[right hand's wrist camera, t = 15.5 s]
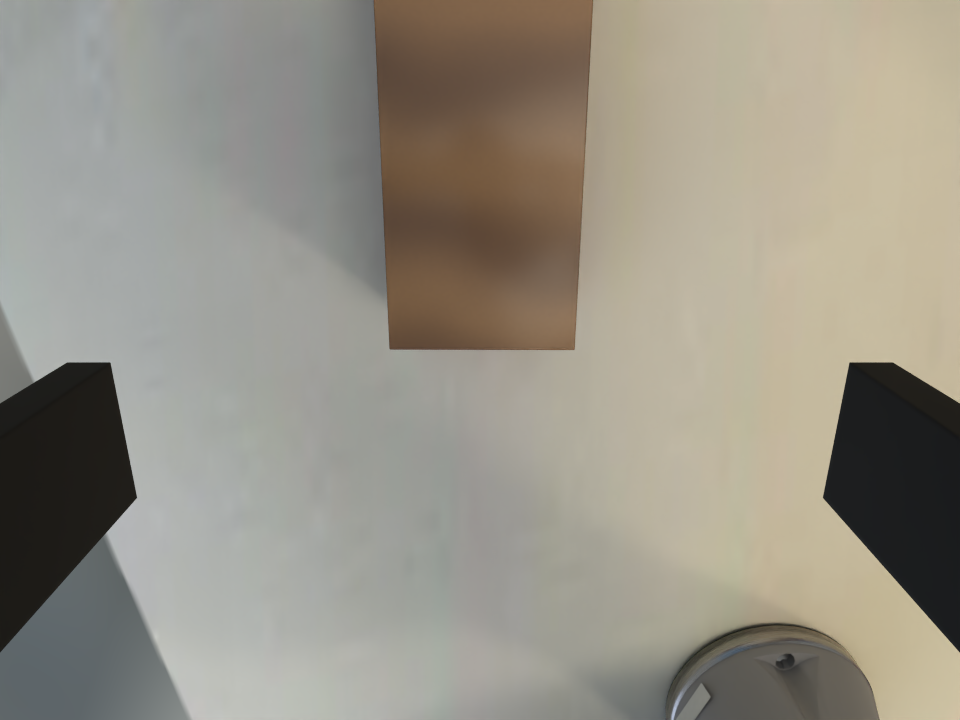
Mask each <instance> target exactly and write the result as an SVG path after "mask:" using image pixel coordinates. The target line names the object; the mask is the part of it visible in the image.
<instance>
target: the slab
mask: <svg viewBox="0 0 960 720" xmlns="http://www.w3.org/2000/svg"><path fill="white" fill-rule="evenodd" d="M592 9H593V0H374V16H375V38H376V60H377V82H378V104H379V126H380V148H381V170H382V192H383V214H384V236H385V258H386V280H387V302H388V324H389V346H390V349H393V350H574V349H575V331H576V312H577V294H578V275H579V256H580V237H581V218H582V199H583V180H584V161H585V142H586V123H587V104H588V85H589V66H590V47H591V28H592Z"/></svg>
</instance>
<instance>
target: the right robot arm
mask: <svg viewBox="0 0 960 720" xmlns="http://www.w3.org/2000/svg"><path fill="white" fill-rule="evenodd" d="M136 498H137V495H136V490H135V485H134V480H133V475H132V470H131V465H130V460H129V455H128V450H127V445H126V440H125V434H124V429H123V424H122V419H121V414H120V409H119V404H118V399H117V394H116V389H115V384H114V379H113V374H112V369H111V363H66V364H64V365H62V366H61V367H59V368H58V369H56V370H54V371H53V372H51V373H49V374H48V375H46V376H44V377H43V378H41V379H40V380H38V381H36V382H35V383H33V384H31V385H30V386H28V387H26V388H25V389H23V390H22V391H20V392H18V393H17V394H15V395H13V396H12V397H10V398H8V399H7V400H5V401H4V402H2V403H0V652H1V651H2V650H3V649H4V647H5V646H6V645H7V644H8V643H9V642H10V641H11V640H12V638H13V637H14V636H15V635H16V634H17V633H18V632H19V630H20V629H21V628H22V627H23V626H24V625H25V624H26V623H27V621H28V620H29V619H30V618H31V617H32V616H33V615H34V614H35V612H36V611H37V610H38V609H39V608H40V607H41V606H42V604H43V603H44V602H45V601H46V600H47V599H48V598H49V597H50V595H51V594H52V593H53V592H54V591H55V590H56V589H57V588H58V586H59V585H60V584H61V583H62V582H63V581H64V580H65V579H66V577H67V576H68V575H69V574H70V573H71V572H72V571H73V570H74V568H75V567H76V566H77V565H78V564H79V563H80V562H81V560H82V559H83V558H84V557H85V556H86V555H87V554H88V553H89V551H90V550H91V549H92V548H93V547H94V546H95V545H96V544H97V542H98V541H99V540H100V539H101V538H102V537H103V536H104V534H105V533H106V532H107V531H108V530H109V529H110V528H111V527H112V525H113V524H114V523H115V522H116V521H117V520H118V519H119V518H120V516H121V515H122V514H123V513H124V512H125V511H126V510H127V509H128V507H129V506H130V505H131V504H132V503H133V502H134V501H135V499H136ZM823 498H824V499H825V501H826V502H827V503H828V504H829V505H830V506H831V507H832V509H833V510H834V511H835V512H836V513H837V514H838V515H839V516H840V518H841V519H842V520H843V521H844V522H845V523H846V524H847V525H848V527H849V528H850V529H851V530H852V531H853V532H854V533H855V534H856V536H857V537H858V538H859V539H860V540H861V541H862V542H863V544H864V545H865V546H866V547H867V548H868V549H869V550H870V551H871V553H872V554H873V555H874V556H875V557H876V558H877V559H878V560H879V562H880V563H881V564H882V565H883V566H884V567H885V568H886V570H887V571H888V572H889V573H890V574H891V575H892V576H893V577H894V579H895V580H896V581H897V582H898V583H899V584H900V585H901V586H902V588H903V589H904V590H905V591H906V592H907V593H908V594H909V595H910V597H911V598H912V599H913V600H914V601H915V602H916V603H917V605H918V606H919V607H920V608H921V609H922V610H923V611H924V612H925V614H926V615H927V616H928V617H929V618H930V619H931V620H932V621H933V623H934V624H935V625H936V626H937V627H938V628H939V629H940V631H941V632H942V633H943V634H944V635H945V636H946V637H947V638H948V640H949V641H950V642H951V643H952V644H953V645H954V646H955V647H956V649H957V650H958V651H959V652H960V403H958V402H956V401H955V400H953V399H952V398H950V397H948V396H947V395H945V394H943V393H942V392H940V391H938V390H937V389H935V388H934V387H932V386H930V385H929V384H927V383H925V382H924V381H922V380H920V379H919V378H917V377H916V376H914V375H912V374H911V373H909V372H907V371H906V370H904V369H902V368H901V367H899V366H898V365H896V364H894V363H849V369H848V374H847V379H846V384H845V389H844V394H843V399H842V404H841V409H840V414H839V419H838V424H837V429H836V434H835V440H834V445H833V450H832V455H831V460H830V465H829V470H828V475H827V480H826V485H825V490H824V495H823ZM666 719H667V720H880V719H879V715H878V711H877V707H876V703H875V699H874V695H873V691H872V688H871V686H870V684H869V682H868V680H867V679H866V677H865V675H864V674H863V672H862V671H861V669H860V668H859V666H858V665H857V664H856V662H855V661H854V659H853V658H852V656H851V655H850V654H849V653H848V652H847V651H846V650H845V649H844V648H843V647H842V646H841V645H840V644H838V643H837V642H836V641H834V640H832V639H831V638H829V637H827V636H825V635H823V634H821V633H818V632H815V631H813V630H809V629H805V628H800V627H794V626H783V625H780V626H762V627H755V628H750V629H746V630H742V631H739V632H736V633H733V634H730V635H728V636H725V637H723V638H721V639H719V640H717V641H715V642H713V643H711V644H710V645H708V646H707V647H705V648H704V649H702V650H701V651H699V652H698V653H697V654H696V655H695V656H693V657H692V658H691V659H690V660H689V661H688V662H687V663H686V664H685V665H684V667H683V668H682V669H681V670H680V672H679V673H678V675H677V676H676V678H675V680H674V682H673V684H672V685H671V688H670V691H669V693H668V697H667V703H666Z"/></svg>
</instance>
